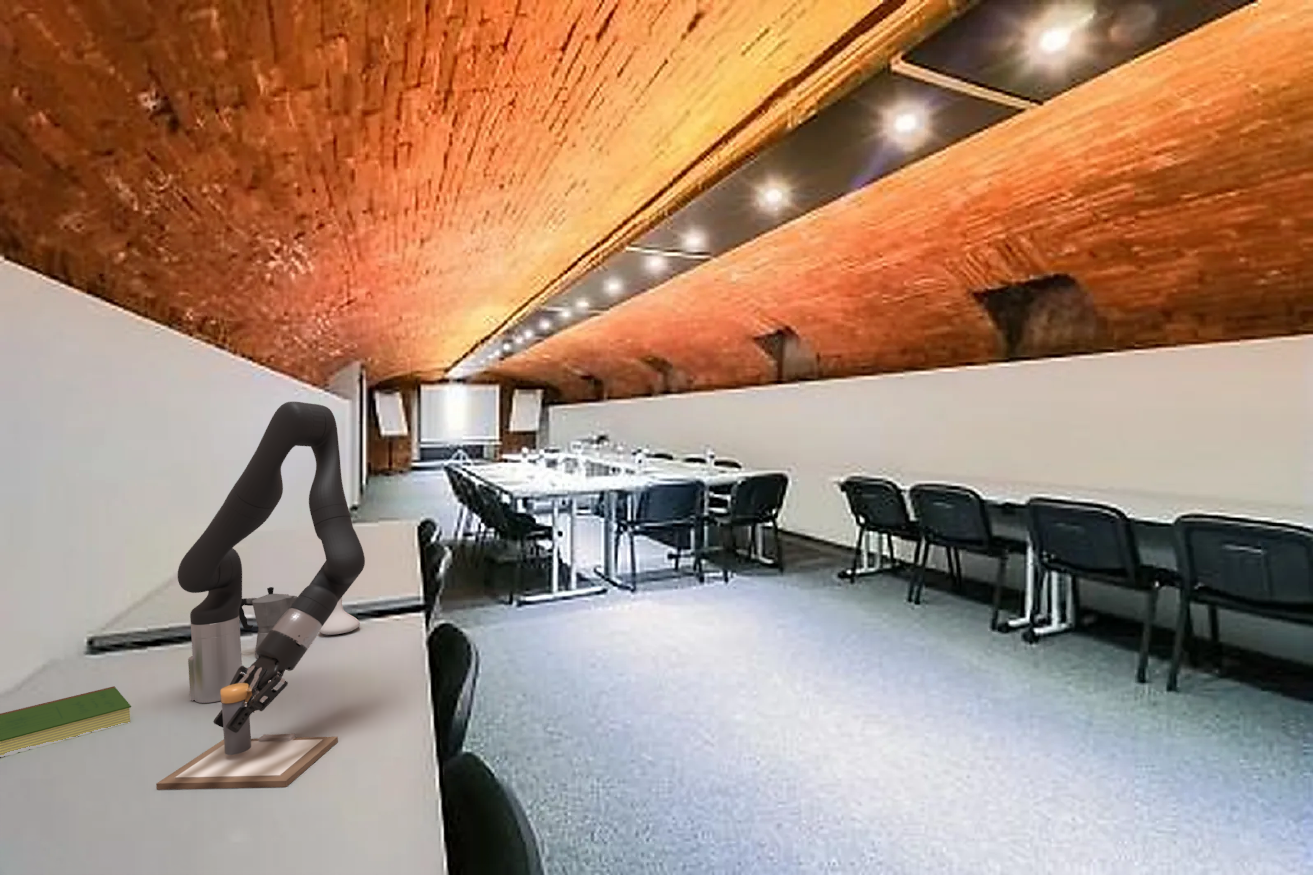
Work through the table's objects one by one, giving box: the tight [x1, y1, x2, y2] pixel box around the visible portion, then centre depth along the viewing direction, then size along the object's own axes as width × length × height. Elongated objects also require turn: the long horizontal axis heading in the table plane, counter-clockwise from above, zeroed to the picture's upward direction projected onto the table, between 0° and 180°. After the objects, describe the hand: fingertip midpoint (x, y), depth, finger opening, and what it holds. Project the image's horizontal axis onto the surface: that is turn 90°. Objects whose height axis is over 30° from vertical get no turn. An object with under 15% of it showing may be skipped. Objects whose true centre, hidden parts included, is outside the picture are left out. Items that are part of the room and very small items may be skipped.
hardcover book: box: [0, 685, 132, 755], centre depth 138 cm, size 25×19×4 cm
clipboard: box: [155, 733, 339, 791], centre depth 119 cm, size 22×16×2 cm
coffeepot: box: [239, 586, 298, 660], centre depth 183 cm, size 15×9×18 cm, turn 103°
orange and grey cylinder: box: [220, 683, 252, 755], centre depth 120 cm, size 4×4×11 cm
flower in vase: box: [319, 596, 361, 636], centre depth 202 cm, size 13×11×25 cm
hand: (224, 727), depth 118 cm, fingers closed on orange and grey cylinder, 4 cm apart
